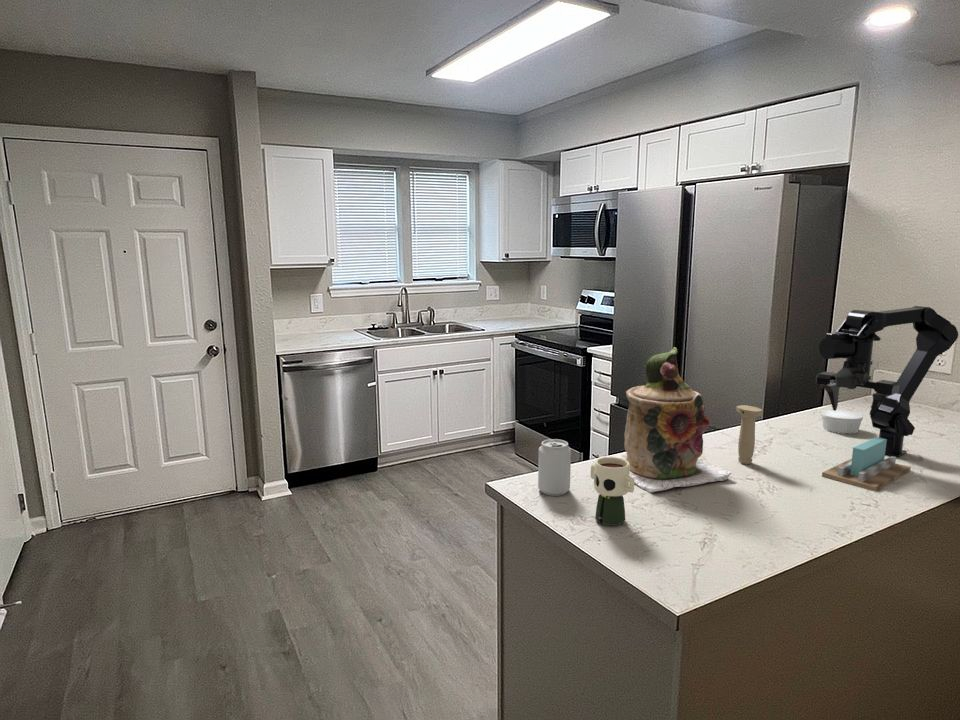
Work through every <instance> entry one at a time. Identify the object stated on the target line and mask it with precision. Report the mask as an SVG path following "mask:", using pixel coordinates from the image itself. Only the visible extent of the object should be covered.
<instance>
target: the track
mask: <svg viewBox="0 0 960 720" xmlns="http://www.w3.org/2000/svg"><path fill="white" fill-rule="evenodd" d="M896 460H897V457H896V456H891V455H890V456H889V457H888V458H884V460H883V461H881V462H879V463H877V464H875V465H873V466H871V467H869V468H867V469H865V470H863V471H862V472H860V473H859V475H858V476H854V475H850V472H851V463H852V458H850V459H848V460H845V461H844V462H842V463H839V464H838V465H835V466H833V467H830V468H828V469H827V470H824V471H822V474H821V477H823V478H827V479H830V480H834V481H838V482H842V483H845V484H848V485H852V486H856V487H859V488H863V489H867V490H870V491H874V492H876V491H877V490H879V489H881V488H883V487H885V486H886V485H888V484H890V483H892V482H893V481H895V480H897V479H899V478H900V477H902V476H904V475H906V474H907V473H909V472H911V468H912V467H911V466H908V465H903V464H901V463H900V464H899V463H896Z"/></svg>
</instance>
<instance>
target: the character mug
mask: <svg viewBox="0 0 960 720" xmlns="http://www.w3.org/2000/svg"><path fill="white" fill-rule="evenodd" d="M601 457H602V456H601ZM629 472H630V463H629V462H628V461H627V460H625V459H622V458H617V457H602V458H599V457H598V458H596V459H595V462H594V463H593V464H591V465H590V478H591V479H592V480H593V486H594V487H593V488H594V490H595V491H596V493H597V494H598V497H597V502H596V508H595V520H596V522H598V523H599V522H600V521H601V520H600V519H602V524H603V525H608V526H618V525H621V524H622V523H623V522H625V521H626V511H625V510H626V509H625V498H624V495H627V494H628V493H634V491H635V483H634V478H633V477H631V476H629Z"/></svg>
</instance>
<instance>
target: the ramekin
mask: <svg viewBox="0 0 960 720" xmlns="http://www.w3.org/2000/svg"><path fill="white" fill-rule="evenodd" d="M820 416H821V420H822V427H823V429H824V428H825V429H827V430H829V431H828V432H830V431H833V432H832V433H834V432H839V433H838V434H840V433H854V434H857V433H858V432H859V429H860V427H861V425H862V421H863V418H864V416H863V415H862V414H860V413H857V412H854V411H848V410H843V409H842V410H841V409H836V411H834V410H833V409H826V410H823V411H821V412H820ZM825 429H824V430H825ZM827 430H826V431H827Z"/></svg>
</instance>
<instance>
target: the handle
mask: <svg viewBox="0 0 960 720" xmlns="http://www.w3.org/2000/svg"><path fill="white" fill-rule="evenodd" d="M735 411H736V413H738V414H739V415H740V416H741V421H740V430H739V436H738V443H737V444H738V445H737V446H738V447H737V448H738V449H737V452H738V462H739V463H740V464H743V465H749V464H750V465H751V464H752V462H753V456H754V452H755V447H756V446H755V443H756V420H757V417H760V416H762V415H763V409H761V408H759V407H757V406H752V405H744V404H742V405H737V406H736V408H735Z"/></svg>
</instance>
